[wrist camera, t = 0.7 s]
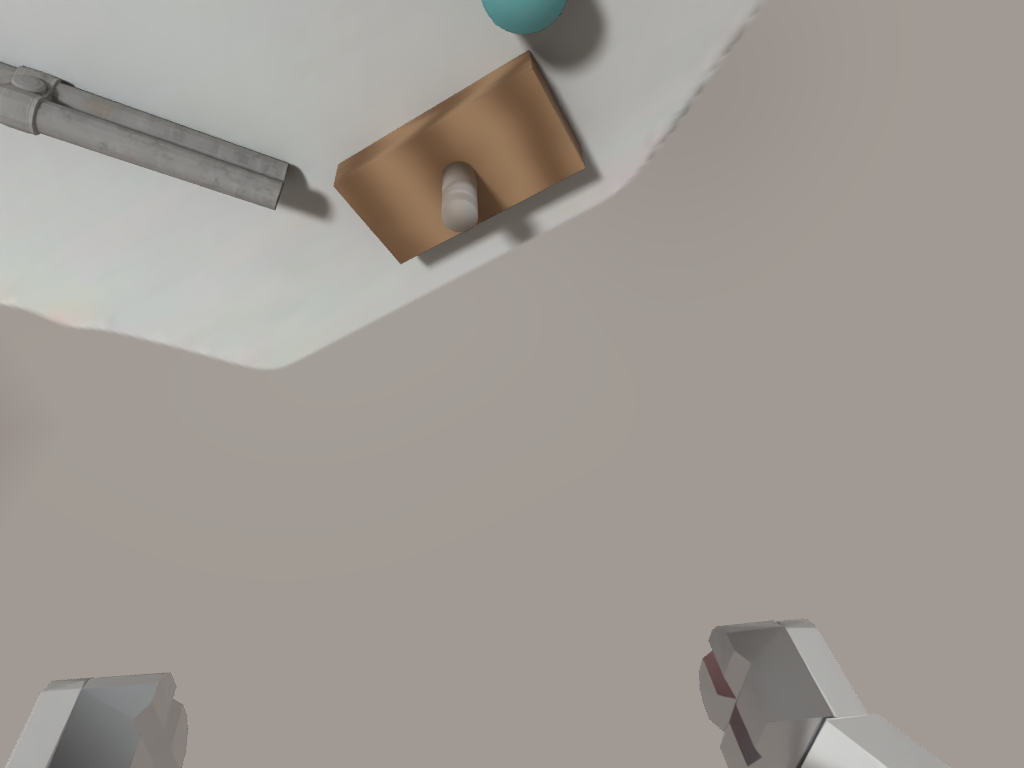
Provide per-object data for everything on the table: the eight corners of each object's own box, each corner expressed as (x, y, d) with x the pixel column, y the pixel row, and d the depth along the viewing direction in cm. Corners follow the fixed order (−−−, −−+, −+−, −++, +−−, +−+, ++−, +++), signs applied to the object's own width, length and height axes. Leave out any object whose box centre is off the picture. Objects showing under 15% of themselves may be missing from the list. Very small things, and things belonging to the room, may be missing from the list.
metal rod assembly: (292, 152, 50) (280, 189, 47) (284, 184, 52) (272, 221, 48) (-143, -4, 41) (-197, 27, 38) (-134, 40, 43) (-185, 74, 40)
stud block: (529, 49, 45) (538, 104, 40) (580, 146, 51) (595, 206, 45) (338, 164, 51) (324, 226, 45) (402, 241, 56) (396, 305, 50)
